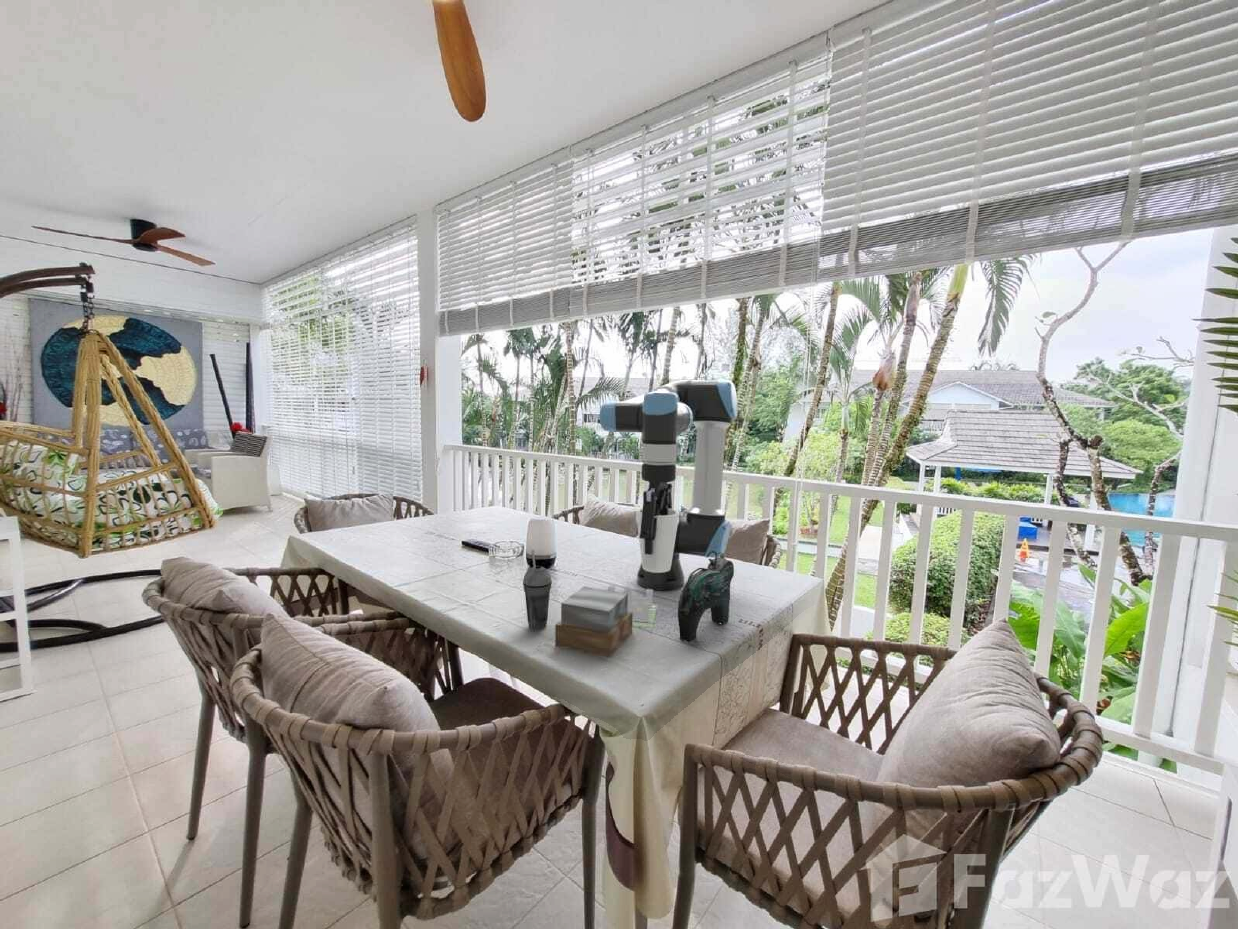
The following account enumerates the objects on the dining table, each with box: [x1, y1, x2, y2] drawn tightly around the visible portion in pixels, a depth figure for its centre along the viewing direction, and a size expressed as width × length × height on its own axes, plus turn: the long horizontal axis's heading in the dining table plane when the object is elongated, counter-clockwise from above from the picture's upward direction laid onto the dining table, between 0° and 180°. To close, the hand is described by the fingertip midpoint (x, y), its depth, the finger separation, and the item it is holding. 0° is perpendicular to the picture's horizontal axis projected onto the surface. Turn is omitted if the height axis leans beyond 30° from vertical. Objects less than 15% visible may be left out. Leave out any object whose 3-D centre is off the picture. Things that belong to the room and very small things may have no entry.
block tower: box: [554, 586, 633, 658], centre depth 120 cm, size 14×14×10 cm
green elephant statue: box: [677, 550, 735, 643], centre depth 125 cm, size 20×6×20 cm, turn 136°
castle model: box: [607, 585, 659, 628], centre depth 135 cm, size 15×15×7 cm
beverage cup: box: [522, 549, 553, 631], centre depth 125 cm, size 7×7×20 cm
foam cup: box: [635, 508, 679, 573], centre depth 112 cm, size 10×9×13 cm
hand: (656, 561), depth 112 cm, fingers closed on foam cup, 9 cm apart
